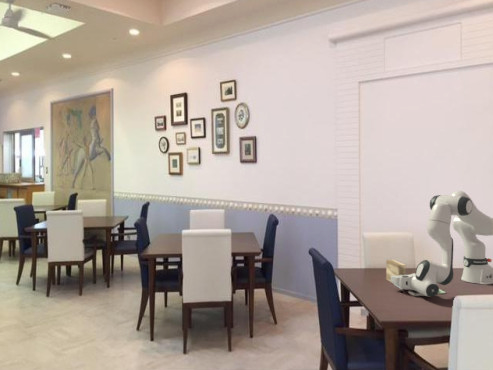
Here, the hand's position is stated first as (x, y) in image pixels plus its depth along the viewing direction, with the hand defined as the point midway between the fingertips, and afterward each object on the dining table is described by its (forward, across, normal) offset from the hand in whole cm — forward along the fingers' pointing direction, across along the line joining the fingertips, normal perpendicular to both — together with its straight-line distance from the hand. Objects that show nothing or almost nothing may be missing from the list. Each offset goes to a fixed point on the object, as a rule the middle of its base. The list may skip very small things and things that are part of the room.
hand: (402, 275), depth 241 cm
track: (-3, 0, +6) cm, 6 cm away
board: (+7, 0, +6) cm, 9 cm away
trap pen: (-16, 0, +6) cm, 17 cm away
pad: (-10, -11, +6) cm, 16 cm away
